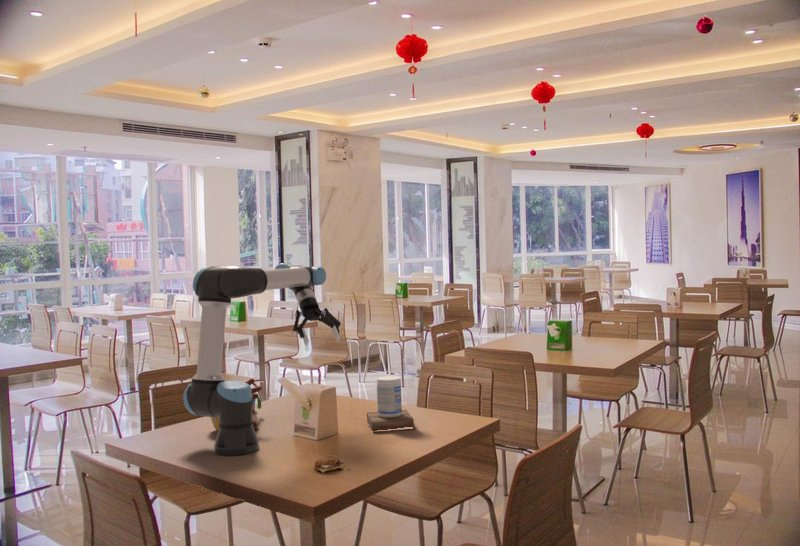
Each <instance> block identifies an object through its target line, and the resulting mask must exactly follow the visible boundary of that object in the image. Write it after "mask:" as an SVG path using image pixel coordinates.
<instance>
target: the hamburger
mask: <svg viewBox="0 0 800 546" xmlns="http://www.w3.org/2000/svg"><path fill="white" fill-rule="evenodd" d="M344 466H345V465H344V462H343V461H342V460H341V459H339V457H337V455H334V454H333V455H332V454H328V455H323V456H320V457H318V458H317V459H316V461H315V462H314V467H315V469H316V470H317V471H319V472H321V473H322V474H324V473H325V471H327V472H334V471H336V470H338V469H339V468H340V469H342V470H345V469H344V468H345V467H344ZM346 468H347V469H346V470H349V469H350V468H349V467H346Z"/></svg>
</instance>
